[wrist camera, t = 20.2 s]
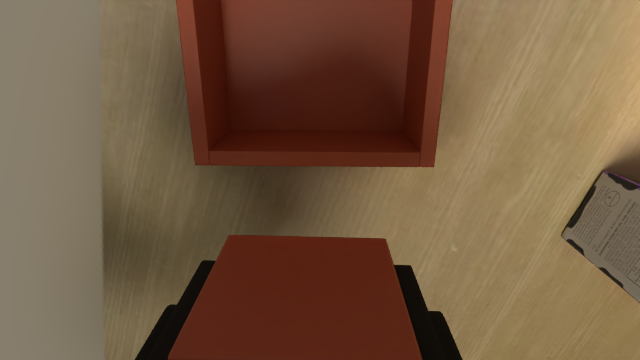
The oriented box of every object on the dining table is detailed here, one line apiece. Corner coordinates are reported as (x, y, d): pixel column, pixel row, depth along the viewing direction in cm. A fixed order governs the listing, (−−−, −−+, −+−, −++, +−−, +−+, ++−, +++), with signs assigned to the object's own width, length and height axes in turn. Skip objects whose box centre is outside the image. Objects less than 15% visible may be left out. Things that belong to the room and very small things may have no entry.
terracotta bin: (222, 139, 26) (194, 165, 20) (203, -82, 21) (161, -125, 16) (411, 140, 25) (434, 167, 20) (430, -82, 21) (467, -125, 16)
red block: (237, 356, 12) (190, 520, 8) (228, 233, 11) (165, 357, 7) (375, 360, 12) (401, 526, 8) (386, 237, 11) (425, 363, 7)
